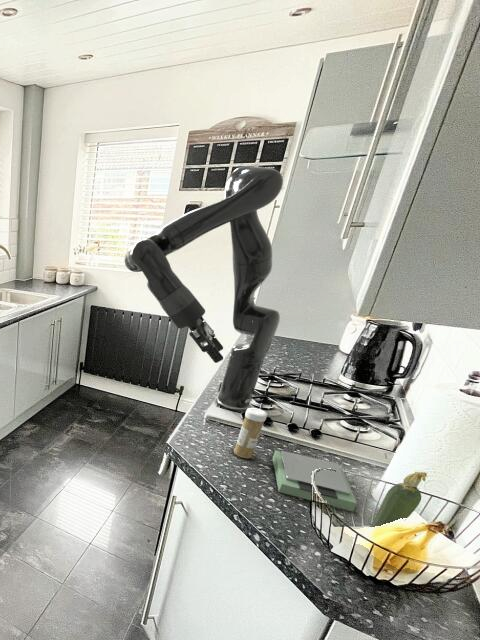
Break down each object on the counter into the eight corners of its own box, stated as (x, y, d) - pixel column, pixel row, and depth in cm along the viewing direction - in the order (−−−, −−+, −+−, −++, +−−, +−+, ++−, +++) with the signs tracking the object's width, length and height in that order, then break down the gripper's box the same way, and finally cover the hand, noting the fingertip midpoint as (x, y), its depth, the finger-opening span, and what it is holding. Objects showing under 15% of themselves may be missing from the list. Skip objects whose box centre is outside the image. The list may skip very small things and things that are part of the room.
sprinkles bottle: (252, 461, 112) (268, 417, 106) (233, 456, 114) (247, 412, 108) (252, 452, 116) (267, 409, 110) (232, 447, 118) (246, 405, 112)
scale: (272, 457, 113) (275, 449, 112) (337, 473, 107) (341, 465, 106) (278, 492, 101) (282, 483, 100) (353, 512, 95) (357, 503, 93)
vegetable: (356, 539, 87) (398, 459, 79) (382, 545, 86) (428, 464, 77) (365, 554, 84) (410, 472, 75) (392, 561, 82) (442, 478, 74)
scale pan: (279, 452, 111) (280, 450, 111) (336, 466, 106) (338, 463, 106) (285, 479, 101) (286, 477, 101) (349, 495, 96) (350, 493, 96)
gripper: (193, 303, 101) (235, 356, 101) (196, 291, 112) (233, 339, 112) (165, 321, 105) (205, 372, 105) (170, 308, 117) (206, 354, 116)
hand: (219, 355), depth 109 cm, fingers open, 8 cm apart
